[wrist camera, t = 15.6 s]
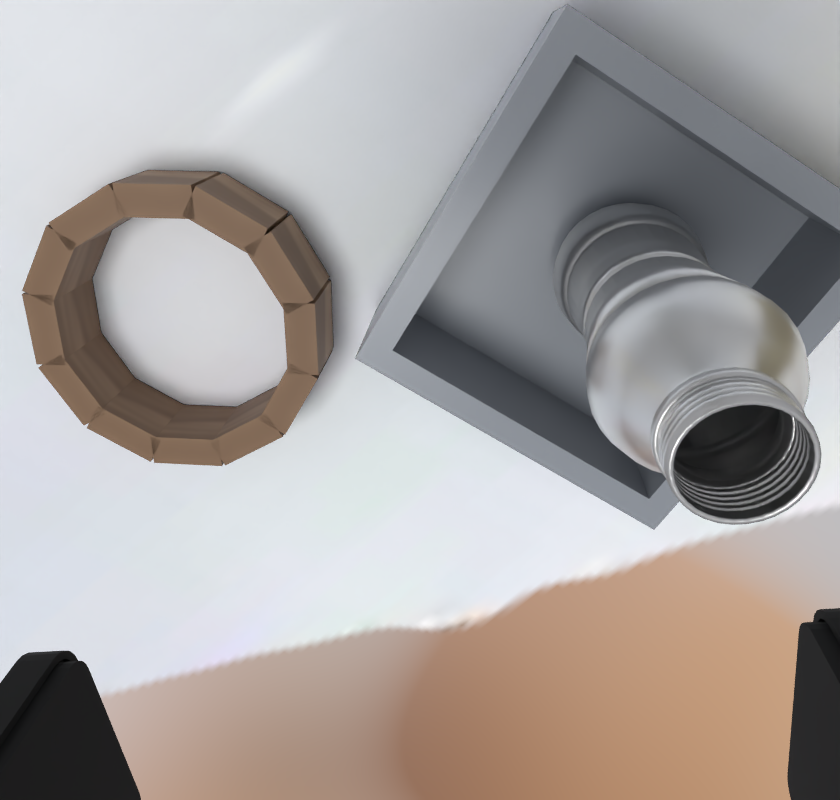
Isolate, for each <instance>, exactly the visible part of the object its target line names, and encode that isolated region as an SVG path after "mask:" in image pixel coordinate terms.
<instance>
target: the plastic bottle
mask: <svg viewBox="0 0 840 800" xmlns="http://www.w3.org/2000/svg"><path fill="white" fill-rule="evenodd" d="M553 289H554V293H555V297H556V301H557V303H558V305H559V307H560V309H561V311H562V313H563V314H564V315H565V317H566V318H567V319H568V320H569V322H570V323H571V324H572V325H573V326H574V328H575V329H576V330H577V331H578V332H579V333H580V334H582V335H583V336H584V338H585V341H586V345H587V358H586V388H587V396H588V400H589V404H590V408H591V412H592V415H593V417H594V419H595V421H596V422H597V424H598V426H599V428H600V430H601V431H602V432H603V433H604V435H605V436H606V437H607V438H608V439H609V441H610V442H611V443H612V444H613V445H615V446H616V447H617V448H618V449H620V450H621V451H622V452H624V453H625V454H626V455H627V456H629V457H630V458H631V459H633V460H634V461H635V462H637V463H639V464H640V465H642V466H644V467H646V468H648V469H650V470H652V471H656V472H659V473H662V474H663V475H664V476H665V478H666V480H667V482H668V484H669V486H670V488H671V490H672V492H673V494H674V495H675V496H676V497H677V498H678V500H679V501H680V502H681V503H682V504H683V506H685V507H686V508H687V509H689V510H690V511H691V512H692V513H694V514H696V515H698V516H700V517H702V518H704V519H707V520H710V521H713V522H717V523H724V524H732V525H733V524H749V523H754V522H760V521H763V520H766V519H769V518H772V517H775V516H777V515H778V514H780V513H782V512H784V511H786V510H788V509H789V508H790V507H792V506H793V505H794V504H796V503H797V502H798V501H800V499H801V498H802V497H803V496H804V495H805V494H806V493H807V492H808V491H809V489H810V488H811V486H812V484H813V483H814V481H815V480H816V477H817V474H818V471H819V469H820V463H821V448H820V442H819V440H818V436H817V434H816V432H815V429H814V427H813V425H812V424H811V423H810V421H809V420H808V419H807V417H806V416H805V413H804V411H803V410H804V407H805V404H806V401H807V398H808V392H809V382H810V375H809V368H808V360H807V355H806V349H805V345H804V343H803V340H802V338H801V335H800V333H799V330H798V328H797V327H796V326H795V324H794V323H793V321H792V320H791V319H790V317H789V316H788V314H787V313H786V312H784V311H783V310H782V309H781V308H780V307H779V306H778V305H777V304H775V303H774V302H773V301H772V300H770V299H769V298H767V297H765V296H764V295H763V294H761V293H759V292H757V291H756V290H754V289H752V288H750V287H748V286H747V285H745V284H742V283H739V282H737V281H735V280H732V279H730V278H727V277H725V276H722V275H720V274H718V273H717V272H716V271H714V270H713V269H711V268H710V266H709V265H708V259H707V257H706V254H705V252H704V250H703V247H702V245H701V243H700V241H699V239H698V237H697V235H696V234H695V233H694V231H693V230H692V229H691V227H690V226H689V225H688V224H687V223H686V222H684V221H683V220H682V219H681V218H680V217H679V216H677V215H675V214H673V213H671V212H670V211H668V210H666V209H663V208H660V207H656V206H653V205H647V204H637V203H622V204H615V205H611V206H607V207H604V208H601V209H599V210H597V211H595V212H593V213H591V214H589V215H588V216H586V217H585V218H584V219H582V220H581V221H580V222H578V223H577V224H576V226H575V227H574V228H573V229H572V230H571V231H570V232H569V233H568V235H567V236H566V238H565V240H564V241H563V243H562V245H561V247H560V250H559V253H558V255H557V258H556V261H555V266H554V271H553Z"/></svg>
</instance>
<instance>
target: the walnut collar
mask: <svg viewBox="0 0 840 800" xmlns="http://www.w3.org/2000/svg"><path fill="white" fill-rule="evenodd" d="M287 213H288V211H287V210H285V209H283V208H282V207H280V206H278V205H277V204H275V203H273V202H272V201H270V200H268V199H267V198H265V197H263V196H262V195H260V194H258V193H257V192H255V191H253V190H251V189H250V188H248V187H246V186H245V185H243V184H241V183H240V182H238V181H236V180H235V179H233V178H231V177H230V176H228V175H226V174H225V173H222V174H220V172H213V171H165V170H147V171H143V172H141V173H138V174H135V175H132V176H129V177H127V178H124V179H121V180H118V181H116V182H113V183H110V184H108V185H106V186H105V187H103V188H102V189H100V190H98V191H97V192H95V193H94V194H92V195H91V196H89V197H88V198H86V199H85V200H83V201H82V202H80V203H78V204H77V205H75V206H74V207H72V208H71V209H69V210H68V211H66V212H65V213H63V214H62V215H60V216H58V217H57V218H55V219H54V220H52V221H51V222H49V224H50V225H47V226H46V228H45V231H44V233H43V236H42V239H41V241H40V244H39V247H38V249H37V252H36V255H35V258H34V260H33V263H32V266H31V268H30V271H29V274H28V276H27V279H26V282H25V284H24V287H23V291H24V292H25V293H23V294H22V296H23V301H24V306H25V311H26V315H27V320H28V325H29V330H30V335H31V339H32V344H33V349H34V354H35V359H36V363H37V364H43V365H42V366H40V367H39V369H40V370H41V372H42V373H43V374H44V375H45V377H46V378H47V379H48V381H49V382H50V383H51V384H52V386H53V387H54V388H55V389H56V391H57V392H58V393H59V395H60V396H61V397H62V398H63V400H64V401H65V402H66V403H67V405H68V406H69V407H70V409H71V410H72V411H73V412H74V414H75V415H76V416H77V417H78V419H79V420H80V421H81V422H82V424H83V425H86V424H87V423H89V424H88V427H87V428H88V429H90V430H92V431H94V432H95V433H97V434H99V435H101V436H103V437H105V438H107V439H109V440H111V441H112V442H114V443H116V444H118V445H120V446H122V447H124V448H126V449H128V450H130V451H131V452H133V453H135V454H137V455H139V456H141V457H143V458H145V459H147V460H148V461H150V462H151V460H152V459H153V458H154V463H172V464H193V465H213V466H222V465H223V463H224V464H225V465H227V464H229V463H231V462H233V461H235V460H237V459H239V458H241V457H243V456H245V455H247V454H249V453H251V452H253V451H255V450H257V449H259V448H261V447H263V446H265V445H267V444H269V443H271V442H273V441H275V440H277V439H279V438H281V437H283V435H284V434H286V432H287V430H288V429H289V427H290V425H291V424H292V422H293V420H294V418H295V417H296V415H297V413H298V412H299V410H300V408H301V406H302V405H303V403H304V401H305V400H306V398H307V396H308V394H309V393H310V391H311V389H312V387H313V386H314V384H315V382H316V381H317V379H318V377H319V375H320V373H321V371H322V369H323V367H324V365H325V364H326V362H327V360H328V358H329V356H330V354H331V352H332V348H333V322H332V297H331V280H328V279H329V277H330V276H329V275H328V273H327V272H326V270H325V268H324V267H323V265H322V263H321V262H320V260H319V259H318V257H317V255H316V254H315V252H314V250H313V249H312V247H311V246H310V244H309V242H308V241H307V239H306V237H305V236H304V234H303V233H302V231H301V229H300V228H299V226H298V224H297V223H296V221H295V220H294V218H293V216H292V215H290V216H288V217H286V215H287ZM132 217H140V218H180V219H190V220H191V221H193V222H195V223H197V224H198V225H200V226H202V227H203V228H205V229H207V230H209V231H210V232H212V233H214V234H215V235H217V236H219V237H221V238H222V239H224V240H226V241H227V242H229V243H231V244H233V245H234V246H236V247H238V248H240V249H241V250H243V251H245V252H246V253H248V255H249V256H250V258H251V259H252V261H253V262H254V264H255V265H256V267H257V269H258V270H259V272H260V273H261V275H262V276H263V278H264V279H265V281H266V282H267V284H268V286H269V287H270V289H271V290H272V292H273V293H274V295H275V296H276V298H277V299H278V301H279V303H280V304H281V306H282V307H283V309H284V322H285V338H286V353H287V370H286V372H285V374H284V376H283V377H282V379H281V381H280V383H279V385H278V386H276V387H274V388H272V389H270V390H268V391H266V392H264V393H263V394H261V395H259V396H257V397H255V398H253V399H251V400H249V401H247V402H245V403H243V404H241V405H239V406H237V407H224V406H201V405H183V404H182V403H180V402H178V401H176V400H174V399H172V398H170V397H169V396H167V395H165V394H163V393H161V392H159V391H158V390H156V389H154V388H152V387H150V386H148V385H147V384H145V383H143V382H141V381H139V380H137V379H136V378H134V376H133V375H132V374H131V372H130V371H129V370H128V368H127V367H126V365H125V364H124V363H123V361H122V360H121V359H120V357H119V356H118V355H117V353H116V352H115V351H114V349H113V348H112V347H111V345H110V344H109V343H108V341H107V340H106V339H105V337H104V336H103V335H102V333H101V329H100V323H99V317H98V311H97V305H96V299H95V293H94V287H93V281H92V278H93V275H94V273H95V270H96V268H97V265H98V263H99V261H100V258H101V256H102V253H103V251H104V248H105V246H106V244H107V241H108V239H109V236H110V234H111V231H112V230H113V229H114V228H116V227H118V226H119V225H121V224H122V223H124V222H126V221H127V220H129V219H130V218H132ZM285 217H286V218H285Z"/></svg>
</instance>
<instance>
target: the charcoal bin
mask: <svg viewBox="0 0 840 800" xmlns="http://www.w3.org/2000/svg"><path fill="white" fill-rule="evenodd" d="M622 203H637V204H647V205H653V206H656V207H660V208H663V209H666V210H668V211H670V212H671V213H673V214H675V215H677V216H679V217H680V218H681V219H682V220H683V221H684V222H686V223H687V224H688V225H689V226H690V227H691V229H692V230H693V231H694V233H695V234H696V235H697V237H698V239H699V241H700V243H701V245H702V247H703V250H704V252H705V254H706V257H707V259H708V265H709V266H710V268H711V269H713V270H714V271H716V272H717V273H718V274H720V275H722V276H725V277H727V278H730V279H732V280H735V281H737V282H739V283H742V284H745V285H747V286H748V287H750V288H752V289H754V290H756V291H757V292H759V293H761V294H763V295H764V296H765V297H767V298H769V299H770V300H772V301H773V302H774V303H775V304H777V305H778V306H779V307H780V308H781V309H782V310H783V311H784V312H786V313H787V314H788V316H789V317H790V319H791V320H792V321H793V323H794V324H795V326H796V327H797V328H798V330H799V333H800V335H801V338H802V340H803V343H804V345H805V349H806V355H807V357H808V355H809V354H810V353H811V352H812V351H813V350H814V349H815V348H816V346H817V345H818V344H819V343H820V342H821V341H822V340H823V339H824V337H825V336H826V335H827V334H828V333H829V332H830V331H831V330H832V328H833V327H834V326H835V325H836V324H837V323H838V322H839V320H840V188H838V187H837V186H835V185H834V184H832V183H831V182H829V181H828V180H826V179H825V178H823V177H822V176H820V175H819V174H817V173H816V172H814V171H813V170H811V169H810V168H809V167H807V166H806V165H804V164H803V163H801V162H800V161H798V160H797V159H795V158H794V157H792V156H791V155H789V154H788V153H786V152H785V151H783V150H782V149H781V148H779V147H778V146H776V145H775V144H773V143H772V142H770V141H769V140H767V139H766V138H764V137H763V136H761V135H760V134H758V133H757V132H755V131H754V130H753V129H751V128H750V127H748V126H747V125H745V124H744V123H742V122H741V121H739V120H738V119H736V118H735V117H733V116H732V115H730V114H729V113H727V112H726V111H724V110H723V109H722V108H720V107H719V106H717V105H716V104H714V103H713V102H711V101H710V100H708V99H707V98H705V97H704V96H702V95H701V94H699V93H698V92H696V91H695V90H694V89H692V88H691V87H689V86H688V85H686V84H685V83H683V82H682V81H680V80H679V79H677V78H676V77H674V76H673V75H671V74H670V73H668V72H667V71H665V70H664V69H663V68H661V67H660V66H658V65H657V64H655V63H654V62H652V61H651V60H649V59H648V58H646V57H645V56H643V55H642V54H640V53H639V52H637V51H636V50H635V49H633V48H632V47H630V46H629V45H627V44H626V43H624V42H623V41H621V40H620V39H618V38H617V37H615V36H614V35H612V34H611V33H609V32H608V31H607V30H605V29H604V28H602V27H601V26H599V25H598V24H596V23H595V22H593V21H592V20H590V19H589V18H587V17H586V16H584V15H583V14H581V13H580V12H578V11H577V10H576V9H574V8H573V7H571V6H570V5H568V4H567V5H565V6H563V7H561V8H559V9H557V10H556V11H554V12H553V13H552V15H551V16H550V18H549V20H548V21H547V23H546V25H545V27H544V28H543V30H542V32H541V33H540V35H539V37H538V38H537V40H536V42H535V43H534V45H533V47H532V48H531V50H530V52H529V53H528V55H527V57H526V58H525V60H524V62H523V64H522V65H521V67H520V69H519V70H518V72H517V74H516V75H515V77H514V79H513V80H512V82H511V84H510V85H509V87H508V89H507V90H506V92H505V94H504V96H503V97H502V99H501V101H500V102H499V104H498V106H497V107H496V109H495V111H494V112H493V114H492V116H491V117H490V119H489V121H488V122H487V124H486V126H485V128H484V129H483V131H482V133H481V134H480V136H479V138H478V139H477V141H476V143H475V144H474V146H473V148H472V149H471V151H470V153H469V154H468V156H467V158H466V159H465V161H464V163H463V165H462V166H461V168H460V170H459V171H458V173H457V175H456V176H455V178H454V180H453V181H452V183H451V185H450V186H449V188H448V190H447V191H446V193H445V195H444V197H443V198H442V200H441V202H440V203H439V205H438V207H437V208H436V210H435V212H434V213H433V215H432V217H431V218H430V220H429V222H428V223H427V225H426V227H425V229H424V230H423V232H422V234H421V235H420V237H419V239H418V240H417V242H416V244H415V245H414V247H413V249H412V250H411V252H410V254H409V255H408V257H407V259H406V260H405V262H404V264H403V266H402V267H401V269H400V271H399V272H398V274H397V276H396V277H395V279H394V281H393V282H392V284H391V286H390V287H389V289H388V291H387V292H386V294H385V296H384V298H383V299H382V301H381V303H380V304H379V306H378V308H377V309H376V312H375V314H374V316H373V318H372V321H371V323H370V325H369V328H368V330H367V332H366V335H365V337H364V339H363V341H362V344H361V346H360V348H359V351H358V353H357V355H356V358H355V359H357V360H359V361H360V362H362V363H364V364H366V365H367V366H369V367H371V368H373V369H374V370H376V371H378V372H380V373H381V374H383V375H385V376H387V377H388V378H390V379H392V380H394V381H395V382H397V383H399V384H401V385H402V386H404V387H406V388H408V389H409V390H411V391H413V392H415V393H416V394H418V395H420V396H422V397H423V398H425V399H427V400H429V401H430V402H432V403H434V404H435V405H437V406H439V407H441V408H442V409H444V410H446V411H448V412H449V413H451V414H453V415H455V416H456V417H458V418H460V419H462V420H463V421H465V422H467V423H469V424H470V425H472V426H474V427H476V428H477V429H479V430H481V431H483V432H484V433H486V434H488V435H490V436H491V437H493V438H495V439H497V440H498V441H500V442H502V443H504V444H505V445H507V446H509V447H511V448H512V449H514V450H516V451H518V452H519V453H521V454H523V455H525V456H526V457H528V458H530V459H532V460H533V461H535V462H537V463H539V464H540V465H542V466H544V467H545V468H547V469H549V470H551V471H552V472H554V473H556V474H558V475H559V476H561V477H563V478H565V479H566V480H568V481H570V482H572V483H573V484H575V485H577V486H579V487H580V488H582V489H584V490H586V491H587V492H589V493H591V494H593V495H594V496H596V497H598V498H600V499H601V500H603V501H605V502H607V503H608V504H610V505H612V506H614V507H615V508H617V509H619V510H621V511H622V512H624V513H626V514H628V515H629V516H631V517H633V518H635V519H636V520H638V521H640V522H642V523H643V524H645V525H647V526H649V527H650V528H652V529H655V528H656V527H657V526H658V525H659V524H660V523H661V522H662V520H663V519H664V518H665V517H666V516H667V515H668V514H669V512H670V511H671V510H672V509H673V508H674V507H675V506H676V505H677V503H678V502H679V500H678V498H677V497H676V496H675V495H674V494H673V492H672V490H671V488H670V486H669V484H668V482H667V480H666V478H665V476H664V475H663V474H662V473H659V472H656V471H652V470H650V469H648V468H646V467H644V466H642V465H640V464H639V463H637V462H635V461H634V460H633V459H631V458H630V457H629V456H627V455H626V454H625V453H624V452H622V451H621V450H620V449H618V448H617V447H616V446H615V445H613V444H612V443H611V442H610V441H609V439H608V438H607V437H606V436H605V435H604V433H603V432H602V431H601V430H600V428H599V426H598V424H597V422H596V421H595V419H594V417H593V415H592V412H591V408H590V404H589V400H588V396H587V388H586V358H587V345H586V341H585V338H584V336H583V335H582V334H580V333H579V332H578V331H577V330H576V329H575V328H574V326H573V325H572V324H571V323H570V322H569V320H568V319H567V318H566V317H565V315H564V314H563V313H562V311H561V309H560V307H559V305H558V303H557V301H556V297H555V293H554V289H553V271H554V266H555V261H556V258H557V255H558V253H559V250H560V247H561V245H562V243H563V241H564V240H565V238H566V236H567V235H568V233H569V232H570V231H571V230H572V229H573V228H574V227H575V226H576V224H577V223H578V222H580V221H581V220H582V219H584V218H585V217H586V216H588V215H589V214H591V213H593V212H595V211H597V210H599V209H601V208H604V207H607V206H611V205H615V204H622Z"/></svg>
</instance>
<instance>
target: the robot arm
mask: <svg viewBox="0 0 840 800" xmlns="http://www.w3.org/2000/svg"><path fill="white" fill-rule="evenodd" d="M788 787H789V793H790V797H791V800H840V608H838V609H820V610H817V611H816V613H815V615H814V620H813V622H807V623H802V624H801V626H800V629H799V638H798V650H797V663H796V676H795V688H794V701H793V714H792V726H791V738H790V751H789V764H788ZM0 800H141V798H140V794H139V791H138V789H137V786H136V783H135V781H134V779H133V776H132V774H131V771H130V769H129V766H128V764H127V761H126V759H125V757H124V754H123V752H122V749H121V747H120V744H119V742H118V739H117V737H116V735H115V732H114V730H113V727H112V725H111V722H110V720H109V717H108V715H107V713H106V710H105V708H104V705H103V703H102V700H101V698H100V695H99V693H98V690H97V688H96V686H95V683H94V681H93V678H92V676H91V673H90V671H89V668H88V667H87V665H86V664H85V663H84V662H83V661H78V660H77V658H76V656H75V655H74V654H73V653H72V652H70V651H51V652H32V653H27V654H25V655H22V656H21V657H20V658H19V659H18V660H17V662H16V663H15V664H14V666H13V667H12V668H11V670H10V671H9V672H8V674H7V675H6V676H5V678H4V679H3V680H2V682H1V683H0Z"/></svg>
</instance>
